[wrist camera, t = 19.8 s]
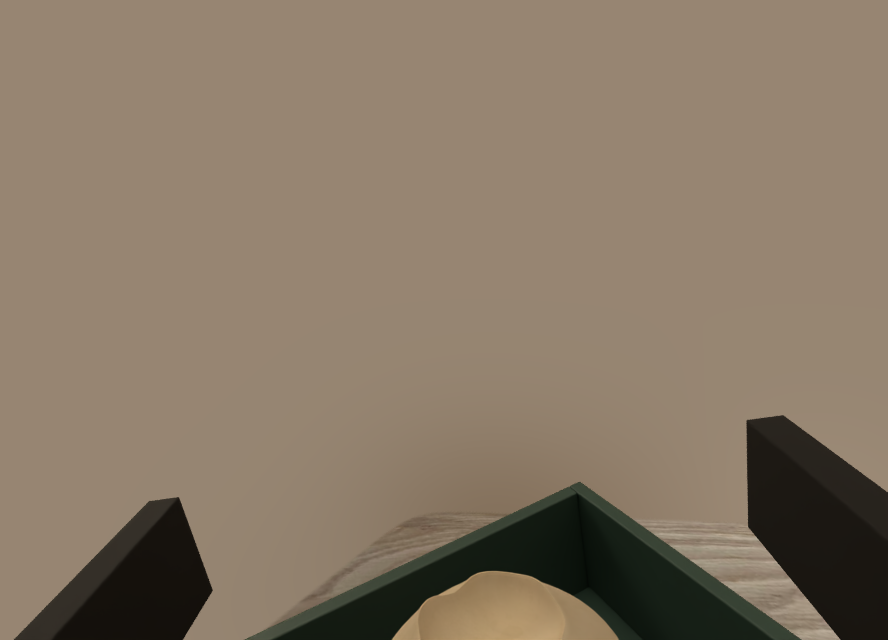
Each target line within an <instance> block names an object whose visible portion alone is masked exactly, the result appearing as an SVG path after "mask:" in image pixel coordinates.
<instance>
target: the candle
mask: <svg viewBox="0 0 888 640" xmlns="http://www.w3.org/2000/svg"><path fill="white" fill-rule="evenodd" d="M392 640H619V639H618V637H617V636H616V634H615V633H614V632H613V631H612V629H611V628H610V627H609V626H608V624H607V623H606V622H605V621H604V620H603V619H602V618H601V617H600V616H599V615H598V614H597V613H596V612H595V611H594V610H592V609H591V608H590V607H589V606H587V605H586V604H585V603H583V602H582V601H580V600H579V599H577V598H575V597H574V596H572V595H571V594H569V593H566V592H564V591H562V590H560V589H558V588H556V587H553V586H550V585H548V584H545V583H542V582H540V581H539V580H537V579H535V578H533V577H531V576H527V575H522V574H516V573H510V572H502V571H486V572H480V573H477V574H475V575H473V576H471V577H470V578H469V579H468V580H466V581H464V582H462V583H461V584H458V585H456V586H454V587H452V588H450V589H448V590H446V591H444V592H443V593H441V594H439V595H437V596H433V597H431V598H429V599H427V600H426V601H425V602H424V603H423V604H422V605H421V607H420V609H419V610H418V611H417V612H416V613H415V614H414V615H413V616H412V617H411V618H410V619H409V620H408V621H407V622H406V623H405V624H404V625H403V626H402V627H401V628H400V630H399V631H398V632H397V634H396V635H395V636H394V637H393V639H392Z"/></svg>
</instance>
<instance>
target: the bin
mask: <svg viewBox="0 0 888 640" xmlns="http://www.w3.org/2000/svg"><path fill="white" fill-rule="evenodd" d="M486 571H502V572H510V573H516V574H522V575H527V576H531V577H533V578H535V579H537V580H539V581H540V582H542V583H545V584H548V585H550V586H553V587H556V588H558V589H560V590H562V591H564V592H566V593H569V594H571V595H572V596H574V597H575V598H577V599H579V600H580V601H582V602H583V603H585V604H586V605H587V606H589V607H590V608H591V609H592V610H594V611H595V612H596V613H597V614H598V615H599V616H600V617H601V618H602V619H603V620H604V621H605V622H606V623H607V624H608V626H609V627H610V628H611V629H612V631H613V632H614V633H615V634H616V636H617V637H618V639H619V640H801V639H800V638H798V637H797V636H796V635H794V634H793V633H791V632H790V631H789V630H787V629H786V628H784V627H783V626H781V625H780V624H779V623H777V622H776V621H774V620H773V619H772V618H770V617H769V616H767V615H766V614H765V613H763V612H762V611H760V610H759V609H758V608H756V607H755V606H753V605H752V604H751V603H749V602H748V601H746V600H745V599H744V598H742V597H741V596H739V595H738V594H737V593H735V592H734V591H732V590H731V589H730V588H728V587H727V586H725V585H724V584H723V583H721V582H720V581H718V580H717V579H716V578H714V577H713V576H711V575H710V574H709V573H707V572H706V571H704V570H703V569H702V568H700V567H699V566H697V565H696V564H695V563H693V562H692V561H690V560H689V559H688V558H686V557H685V556H683V555H682V554H681V553H679V552H678V551H676V550H675V549H673V548H672V547H671V546H669V545H668V544H666V543H665V542H664V541H662V540H661V539H659V538H658V537H657V536H655V535H654V534H652V533H651V532H650V531H648V530H647V529H645V528H644V527H643V526H641V525H640V524H638V523H637V522H636V521H634V520H633V519H631V518H630V517H629V516H627V515H626V514H624V513H623V512H622V511H620V510H619V509H617V508H616V507H615V506H613V505H612V504H610V503H609V502H608V501H606V500H605V499H603V498H602V497H601V496H599V495H598V494H596V493H595V492H594V491H592V490H591V489H589V488H588V487H587V486H585V485H584V484H582V483H581V482H578V483H576V484H573V485H571V486H570V487H567V488H565V489H563V490H561V491H559V492H557V493H554V494H552V495H550V496H548V497H546V498H544V499H542V500H540V501H537V502H535V503H533V504H531V505H529V506H527V507H525V508H523V509H520V510H518V511H516V512H514V513H512V514H510V515H508V516H506V517H504V518H501V519H499V520H497V521H495V522H493V523H491V524H489V525H487V526H484V527H482V528H480V529H478V530H476V531H474V532H472V533H470V534H467V535H465V536H463V537H461V538H459V539H457V540H455V541H453V542H451V543H448V544H446V545H444V546H442V547H440V548H438V549H436V550H434V551H431V552H429V553H427V554H425V555H423V556H421V557H419V558H417V559H414V560H412V561H410V562H408V563H406V564H404V565H402V566H400V567H398V568H395V569H393V570H391V571H389V572H387V573H385V574H383V575H381V576H378V577H376V578H374V579H372V580H370V581H368V582H366V583H364V584H361V585H359V586H357V587H355V588H353V589H351V590H349V591H347V592H345V593H342V594H340V595H338V596H336V597H334V598H332V599H330V600H328V601H325V602H323V603H321V604H319V605H317V606H315V607H313V608H311V609H309V610H306V611H304V612H302V613H300V614H298V615H296V616H294V617H292V618H289V619H287V620H285V621H283V622H281V623H279V624H277V625H275V626H272V627H270V628H268V629H266V630H264V631H262V632H260V633H258V634H256V635H253V636H251V637H249V638H247V639H245V640H392V639H393V637H394V636H395V635H396V634H397V632H398V631H399V630H400V628H401V627H402V626H403V625H404V624H405V623H406V622H407V621H408V620H409V619H410V618H411V617H412V616H413V615H414V614H415V613H416V612H417V611H418V610H419V609H420V607H421V605H422V604H423V603H424V602H425V601H426V600H427V599H429V598H431V597H433V596H437V595H439V594H441V593H443V592H444V591H446V590H448V589H450V588H452V587H454V586H456V585H458V584H461V583H462V582H464V581H466V580H468V579H469V578H470V577H471V576H473V575H475V574H477V573H480V572H486Z"/></svg>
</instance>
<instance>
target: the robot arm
mask: <svg viewBox="0 0 888 640" xmlns="http://www.w3.org/2000/svg"><path fill="white" fill-rule="evenodd" d="M747 480H748V527H749V528H750V530H751V531H752V532H753V533H754V535H755V536H756V537H757V538H758V539H759V541H760V542H761V543H762V544H763V546H764V547H765V548H766V549H767V550H768V552H769V553H770V554H771V555H772V556H773V558H774V559H775V560H776V561H777V563H778V564H779V565H780V566H781V567H782V569H783V570H784V571H785V572H786V574H787V575H788V576H789V577H790V578H791V580H792V581H793V582H794V583H795V585H796V586H797V587H798V588H799V589H800V591H801V592H802V593H803V594H804V596H805V597H806V598H807V599H808V600H809V602H810V603H811V604H812V605H813V606H814V608H815V609H816V610H817V611H818V613H819V614H820V615H821V616H822V617H823V619H824V620H825V621H826V622H827V624H828V625H829V626H830V627H831V628H832V630H833V631H834V632H835V633H836V635H837V636H838V637H839V638H840V639H841V640H888V492H886V491H885V490H884V489H882V488H881V487H880V486H878V485H877V484H876V483H874V482H873V481H871V480H870V479H869V478H867V477H866V476H865V475H863V474H862V473H861V472H859V471H858V470H857V469H855V468H854V467H852V466H851V465H850V464H848V463H847V462H846V461H844V460H843V459H842V458H840V457H839V456H838V455H836V454H835V453H834V452H832V451H831V450H829V449H828V448H827V447H825V446H824V445H823V444H821V443H820V442H819V441H817V440H816V439H815V438H813V437H812V436H810V435H809V434H807V433H806V432H805V431H804V430H802V429H801V428H800V427H798V426H797V425H796V424H794V423H793V422H791V421H790V420H789V419H787V418H786V417H785V416H783V415H782V416H774V417H767V418H760V419H752V420H747ZM212 591H213V590H212V587H211V584H210V581H209V579H208V576H207V573H206V571H205V568H204V565H203V562H202V560H201V557H200V554H199V551H198V549H197V546H196V543H195V540H194V537H193V535H192V532H191V529H190V526H189V524H188V521H187V518H186V516H185V513H184V510H183V507H182V504H181V502H180V499H179V497H177V498H170V499H162V500H155V501H149V502H148V503H147V504H146V505H145V506H144V507H143V508H142V509H141V510H140V511H139V512H138V513H137V514H136V515H135V516H134V517H133V518H132V519H131V520H130V521H129V522H128V523H127V524H126V526H124V527H123V528H122V529H121V530H120V531H119V532H118V533H117V535H116V536H115V537H114V538H113V539H112V540H111V541H110V542H109V543H108V544H107V545H106V546H105V547H104V548H103V549H102V550H101V551H100V552H99V553H98V554H97V555H96V556H95V557H94V558H93V559H92V560H91V561H90V562H89V563H88V564H87V565H86V566H85V567H84V568H83V569H82V571H80V573H78V575H77V576H76V577H75V578H74V579H73V580H72V581H71V582H70V583H69V584H68V585H67V586H66V587H65V588H64V589H63V590H62V591H61V592H60V593H59V594H58V595H57V596H56V597H55V598H54V599H53V600H52V601H51V602H50V603H49V604H48V605H47V606H46V607H45V608H44V610H42V612H41V613H39V614H38V616H37V617H36V618H35V619H34V620H33V621H32V622H31V623H30V624H29V625H28V626H27V627H26V628H25V629H24V630H23V631H22V632H21V633H20V634H19V635H18V636H17V637H16V638H15V639H14V640H183V639H184V637H185V635H186V633H187V632H188V630H189V629H190V627H191V625H192V624H193V622H194V620H195V619H196V617H197V616H198V614H199V612H200V610H201V609H202V607H203V606H204V604H205V602H206V601H207V599H208V597H209V596H210V594H211V593H212Z"/></svg>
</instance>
